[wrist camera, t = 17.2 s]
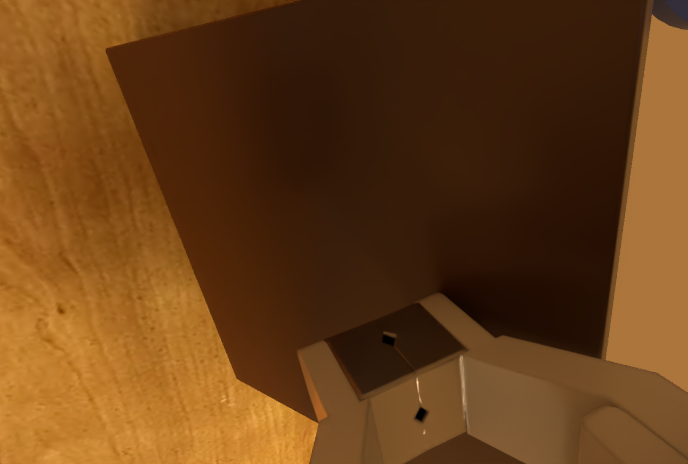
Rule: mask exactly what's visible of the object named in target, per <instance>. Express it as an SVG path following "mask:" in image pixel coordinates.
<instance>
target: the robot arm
mask: <svg viewBox="0 0 688 464" xmlns="http://www.w3.org/2000/svg"><path fill="white" fill-rule="evenodd" d="M297 351H298V358H299V361H300V365H301V368H302V372H303V375H304V378H305V382H306V385H307V389H308V392H309V395H310V398H311V401H312V404H313V407H314V410H315V413H316V416H317V419H318V421H319V425H318V429H317V433H316V438H315V442H314V446H313V450H312V454H311V458H310V462H309V464H404V463H406V462H408V461H409V460H411V459H413V458H415V457H416V456H418V455H420V454H422V453H424V452H425V451H427V450H429V449H431V448H433V447H435V446H437V445H440V444H442V443H444V442H446V441H448V440H450V439H452V438H454V437H456V436H458V435H460V434H462V433H464V432H466V431H467V433H468V434H469V435H471V436H473V437H475V438H477V439H479V440H481V441H483V442H485V443H487V444H489V445H491V446H493V447H495V448H496V449H498V450H500V451H502V452H504V453H506V454H508V455H510V456H512V457H514V458H516V459H518V460H520V461H522V462H524V463H526V464H688V392H686V391H684V390H683V389H681V388H680V387H678V386H677V385H675V384H674V383H672V382H670V381H669V380H667V379H666V378H664V377H663V376H661V375H660V374H658V373H655V372H651V371H647V370H643V369H639V368H635V367H631V366H627V365H622V364H618V363H614V362H610V361H606V360H602V359H598V358H594V357H590V356H586V355H582V354H578V353H573V352H569V351H565V350H561V349H557V348H553V347H549V346H545V345H541V344H537V343H533V342H528V341H524V340H520V339H516V338H512V337H508V336H504V335H502V336H500V337H497V338H495V337H494V336H493V335H491V334H490V333H489V332H488V331H487V330H485V329H484V328H483V327H482V326H481V325H479V324H478V323H477V322H476V321H475V320H473V319H472V318H471V317H470V316H469V315H467V314H466V313H465V312H464V311H463V310H461V309H460V308H459V307H458V306H457V305H455V304H454V303H453V302H452V301H451V300H449V299H448V298H447V297H446V296H445V295H443V294H442V293H438V292H437V293H434V294H432V295H430V296H428V297H425V298H423V299H421V300H418V301H416V302H415V303H413V304H411V305H408V306H406V307H403V308H401V309H399V310H396V311H394V312H392V313H389V314H387V315H385V316H382V317H380V318H378V319H375V320H373V321H370V322H368V323H365V324H362V325H360V326H357V327H355V328H352V329H349V330H347V331H344V332H342V333H339V334H337V335H334V336H331V337H329V338H326V339H324V341H323V340H322V341H320V342H317V343H315V344H312V345H310V346H307V347H304V348H302V349H299V350H297Z"/></svg>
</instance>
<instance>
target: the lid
mask: <svg viewBox="0 0 688 464" xmlns="http://www.w3.org/2000/svg"><path fill="white" fill-rule="evenodd" d="M653 1H654V0H299V1H295V2H291V3H287V4H283V5H279V6H275V7H271V8H267V9H263V10H259V11H255V12H251V13H247V14H243V15H239V16H235V17H231V18H226V19H222V20H218V21H214V22H210V23H206V24H202V25H198V26H194V27H190V28H186V29H182V30H178V31H174V32H170V33H166V34H162V35H158V36H154V37H150V38H146V39H142V40H138V41H134V42H130V43H126V44H122V45H117V46H113V47H109V48H107V49H106V54H107V56H108V58H109V61H110V63H111V66H112V68H113V71H114V73H115V76H116V78H117V81H118V83H119V86H120V88H121V91H122V93H123V96H124V98H125V101H126V103H127V106H128V108H129V111H130V113H131V116H132V118H133V121H134V123H135V126H136V128H137V131H138V133H139V136H140V138H141V141H142V143H143V146H144V148H145V151H146V153H147V156H148V158H149V161H150V163H151V166H152V168H153V171H154V173H155V176H156V178H157V181H158V183H159V186H160V188H161V191H162V193H163V196H164V198H165V201H166V203H167V206H168V208H169V211H170V213H171V216H172V218H173V221H174V223H175V226H176V228H177V231H178V233H179V236H180V238H181V241H182V243H183V246H184V248H185V251H186V253H187V256H188V258H189V261H190V263H191V266H192V268H193V271H194V273H195V276H196V278H197V281H198V283H199V286H200V288H201V291H202V293H203V296H204V298H205V301H206V303H207V306H208V308H209V311H210V313H211V316H212V318H213V321H214V323H215V326H216V328H217V331H218V333H219V336H220V338H221V341H222V343H223V346H224V348H225V351H226V353H227V356H228V358H229V361H230V363H231V365H232V368H233V370H234V373H235V375H236V378H237V379H238V380H240V381H242V382H244V383H245V384H247V385H249V386H251V387H253V388H255V389H256V390H258V391H260V392H262V393H264V394H265V395H267V396H269V397H271V398H273V399H275V400H276V401H278V402H280V403H282V404H284V405H286V406H287V407H289V408H291V409H293V410H295V411H297V412H298V413H300V414H302V415H304V416H306V417H308V418H309V419H311V420H313V421H315V422H317V423H319V421H318V419H317V416H316V413H315V410H314V407H313V404H312V401H311V398H310V395H309V392H308V389H307V385H306V382H305V378H304V375H303V372H302V368H301V365H300V361H299V358H298V351H297V350H299V349H302V348H304V347H307V346H310V345H312V344H315V343H317V342H320V341H322V340H323V341H324V339H326V338H329V337H331V336H334V335H337V334H339V333H342V332H344V331H347V330H349V329H352V328H355V327H357V326H360V325H362V324H365V323H368V322H370V321H373V320H375V319H378V318H380V317H382V316H385V315H387V314H389V313H392V312H394V311H396V310H399V309H401V308H403V307H406V306H408V305H411V304H413V303H415V302H416V301H418V300H421V299H423V298H425V297H428V296H430V295H432V294H434V293H437V292H438V293H442V294H443V295H445V296H446V297H447V298H448V299H449V300H451V301H452V302H453V303H454V304H455V305H457V306H458V307H459V308H460V309H461V310H463V311H464V312H465V313H466V314H467V315H469V316H470V317H471V318H472V319H473V320H475V321H476V322H477V323H478V324H479V325H481V326H482V327H483V328H484V329H485V330H487V331H488V332H489V333H490V334H491V335H493V336H494V337H495V338H497V337H500V336H502V335H504V336H508V337H512V338H516V339H520V340H524V341H528V342H533V343H537V344H541V345H545V346H549V347H553V348H557V349H561V350H565V351H569V352H573V353H578V354H582V355H586V356H590V357H594V358H598V359H602V360H605V359H606V351H607V345H608V337H609V330H610V322H611V315H612V307H613V300H614V292H615V285H616V277H617V269H618V262H619V255H620V248H621V240H622V232H623V225H624V218H625V210H626V203H627V195H628V188H629V180H630V173H631V165H632V158H633V151H634V142H635V136H636V128H637V120H638V113H639V106H640V97H641V91H642V83H643V76H644V67H645V60H646V54H647V46H648V38H649V30H650V24H651V16H652V9H653ZM404 464H526V463H524V462H522V461H520V460H518V459H516V458H514V457H512V456H510V455H508V454H506V453H504V452H502V451H500V450H498V449H496V448H495V447H493V446H491V445H489V444H487V443H485V442H483V441H481V440H479V439H477V438H475V437H473V436H471V435H469V434H468V433H467V431H466V432H464V433H462V434H460V435H458V436H456V437H454V438H452V439H450V440H448V441H446V442H444V443H442V444H440V445H437V446H435V447H433V448H431V449H429V450H427V451H425V452H424V453H422V454H420V455H418V456H416V457H415V458H413V459H411V460H409V461H408V462H406V463H404Z"/></svg>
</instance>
